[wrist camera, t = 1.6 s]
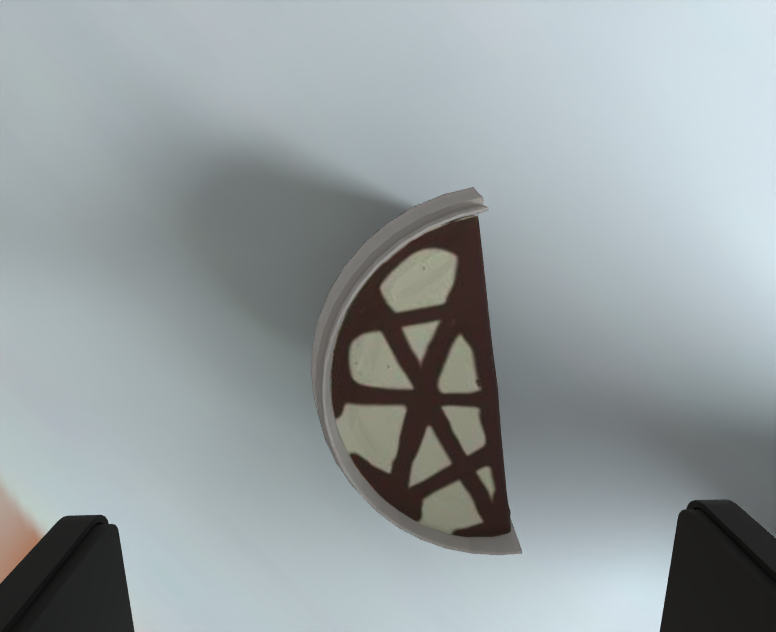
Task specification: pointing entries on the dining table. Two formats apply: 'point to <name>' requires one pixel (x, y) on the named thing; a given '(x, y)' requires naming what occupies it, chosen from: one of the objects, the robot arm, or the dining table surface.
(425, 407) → the food container
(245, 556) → the dining table surface
